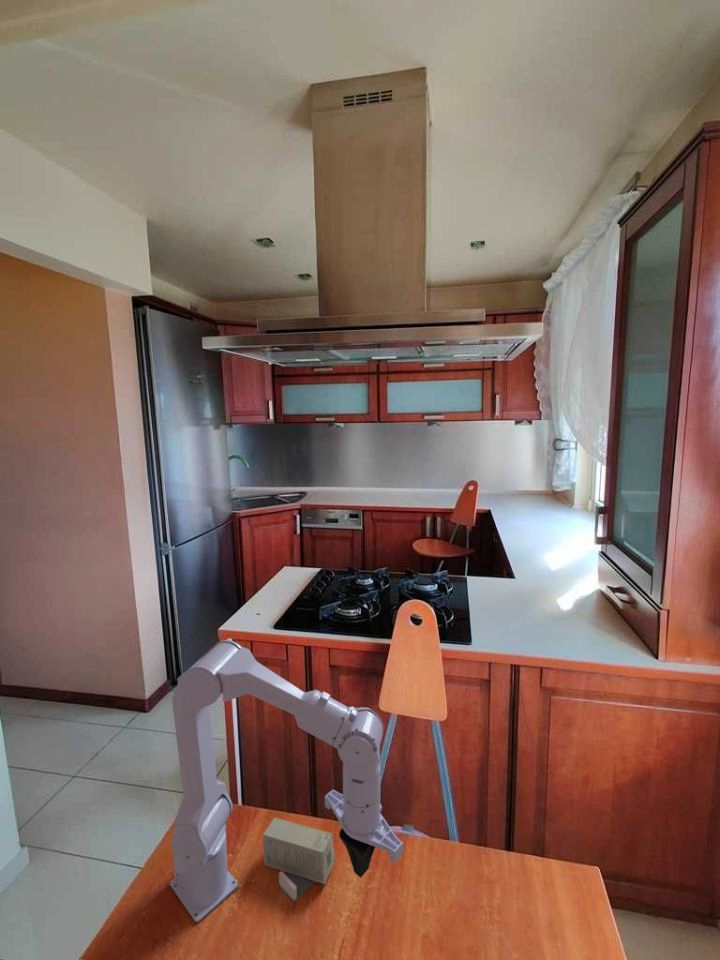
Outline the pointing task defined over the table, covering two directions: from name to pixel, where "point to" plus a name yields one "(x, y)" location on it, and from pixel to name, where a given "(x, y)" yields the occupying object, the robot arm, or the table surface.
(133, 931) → the table surface
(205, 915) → the robot arm
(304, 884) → the u rest
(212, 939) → the table surface
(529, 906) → the table surface
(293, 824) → the skincare box
